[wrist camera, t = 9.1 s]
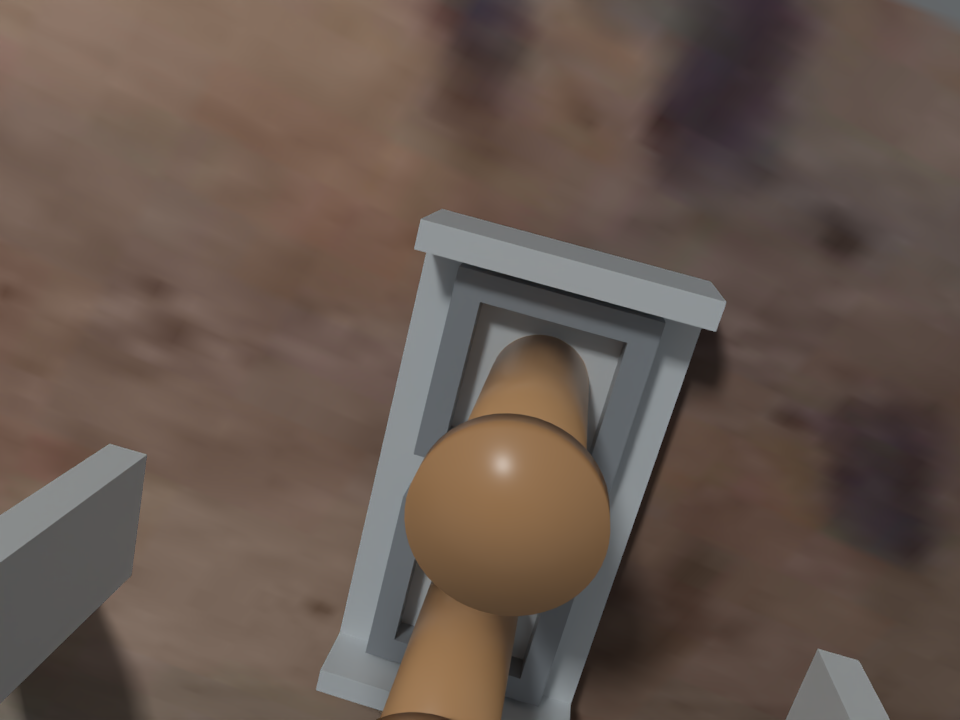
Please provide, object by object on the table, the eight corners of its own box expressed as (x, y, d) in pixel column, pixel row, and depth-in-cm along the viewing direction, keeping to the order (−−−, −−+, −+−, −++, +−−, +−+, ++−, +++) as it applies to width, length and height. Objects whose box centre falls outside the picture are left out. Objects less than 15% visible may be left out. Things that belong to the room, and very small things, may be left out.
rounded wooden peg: (407, 619, 32) (314, 852, 22) (433, 518, 31) (347, 716, 20) (519, 654, 32) (481, 907, 21) (551, 553, 30) (526, 773, 20)
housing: (344, 634, 34) (316, 689, 31) (442, 208, 29) (420, 218, 25) (565, 703, 34) (561, 767, 30) (710, 281, 28) (726, 302, 25)
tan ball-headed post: (492, 302, 28) (429, 403, 18) (622, 339, 28) (637, 463, 17) (460, 423, 30) (385, 582, 19) (584, 459, 29) (576, 640, 19)
